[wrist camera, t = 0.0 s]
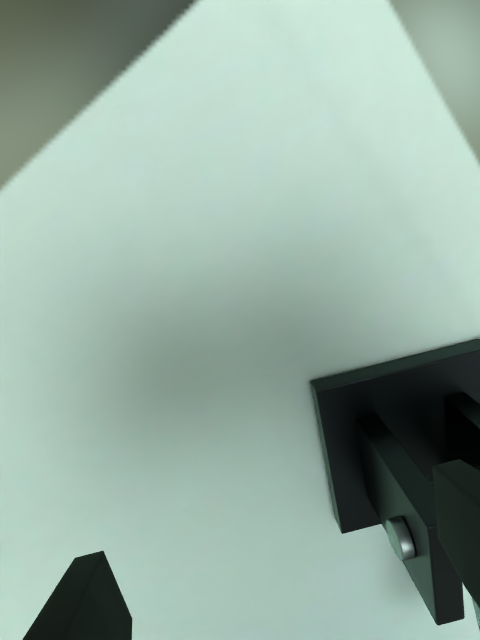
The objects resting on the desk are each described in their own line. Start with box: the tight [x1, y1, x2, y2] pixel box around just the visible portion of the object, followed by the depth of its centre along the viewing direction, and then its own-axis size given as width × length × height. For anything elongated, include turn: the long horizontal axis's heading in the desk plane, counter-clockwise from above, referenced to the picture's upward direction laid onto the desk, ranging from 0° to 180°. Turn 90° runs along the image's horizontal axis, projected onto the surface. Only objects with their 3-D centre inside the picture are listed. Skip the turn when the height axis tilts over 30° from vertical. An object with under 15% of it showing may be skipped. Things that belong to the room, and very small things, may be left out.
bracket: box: [310, 339, 480, 625], centre depth 18 cm, size 8×8×7 cm
